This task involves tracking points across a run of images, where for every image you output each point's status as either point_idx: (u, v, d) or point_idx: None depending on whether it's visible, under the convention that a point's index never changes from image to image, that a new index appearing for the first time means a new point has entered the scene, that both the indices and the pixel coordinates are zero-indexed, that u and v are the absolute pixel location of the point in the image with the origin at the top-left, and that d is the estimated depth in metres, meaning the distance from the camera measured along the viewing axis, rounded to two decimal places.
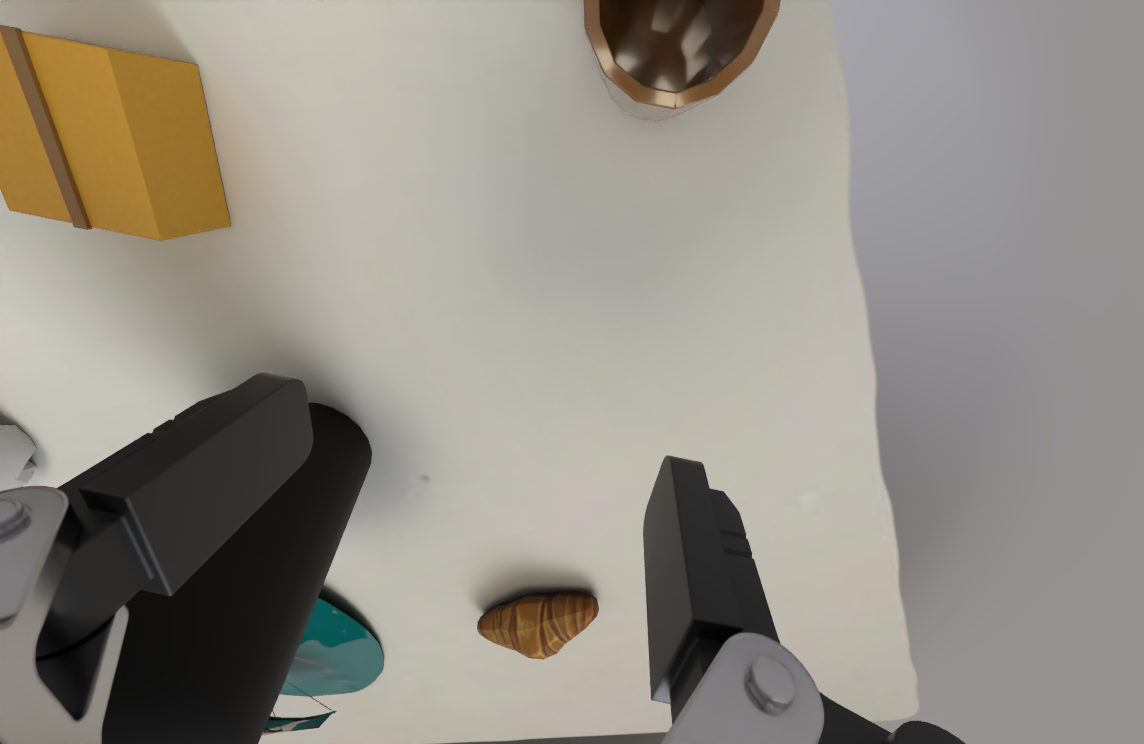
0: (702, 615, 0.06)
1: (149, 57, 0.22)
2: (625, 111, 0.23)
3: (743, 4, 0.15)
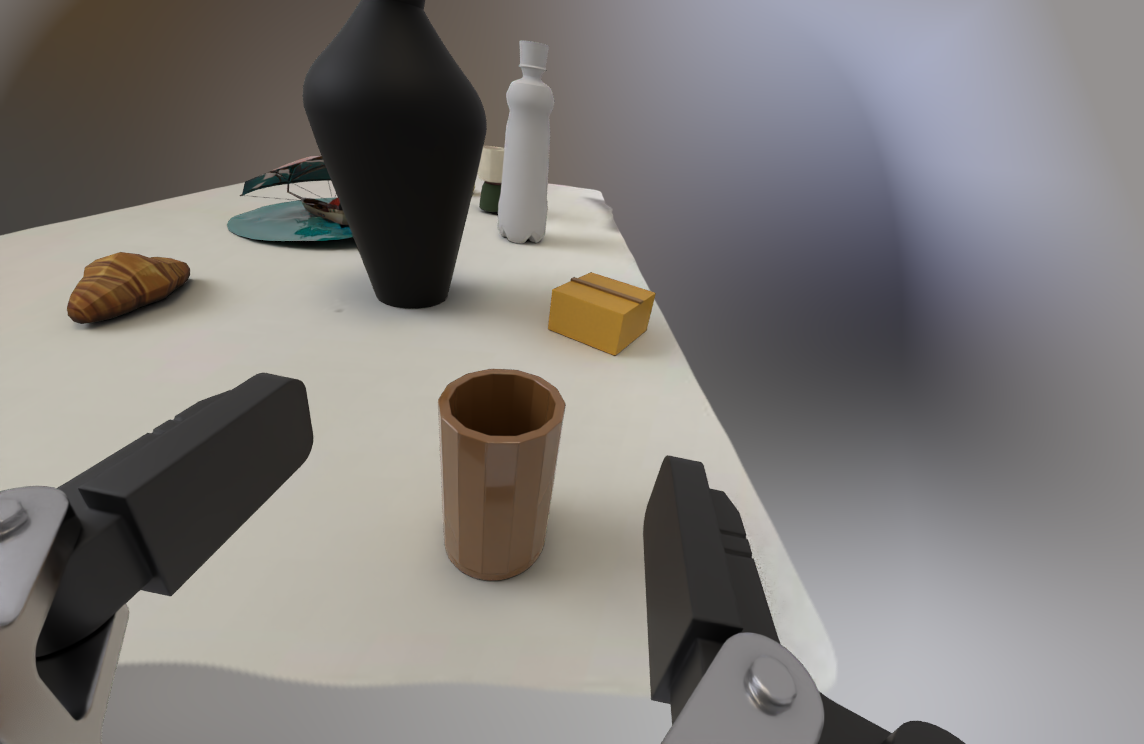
0: (702, 615, 0.06)
1: (619, 332, 0.46)
2: None
3: None
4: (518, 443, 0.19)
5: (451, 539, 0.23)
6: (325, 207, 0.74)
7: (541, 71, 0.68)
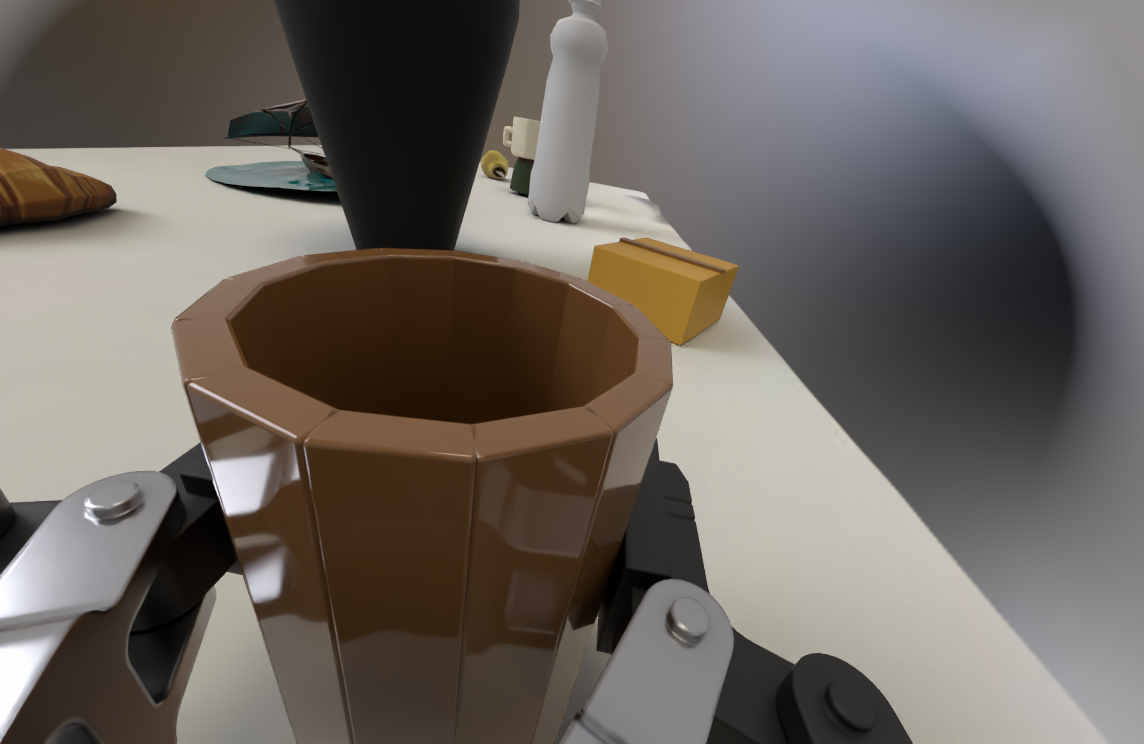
0: (635, 566, 0.06)
1: (691, 309, 0.31)
2: None
3: None
4: (476, 461, 0.04)
5: None
6: (327, 163, 0.62)
7: (595, 7, 0.55)
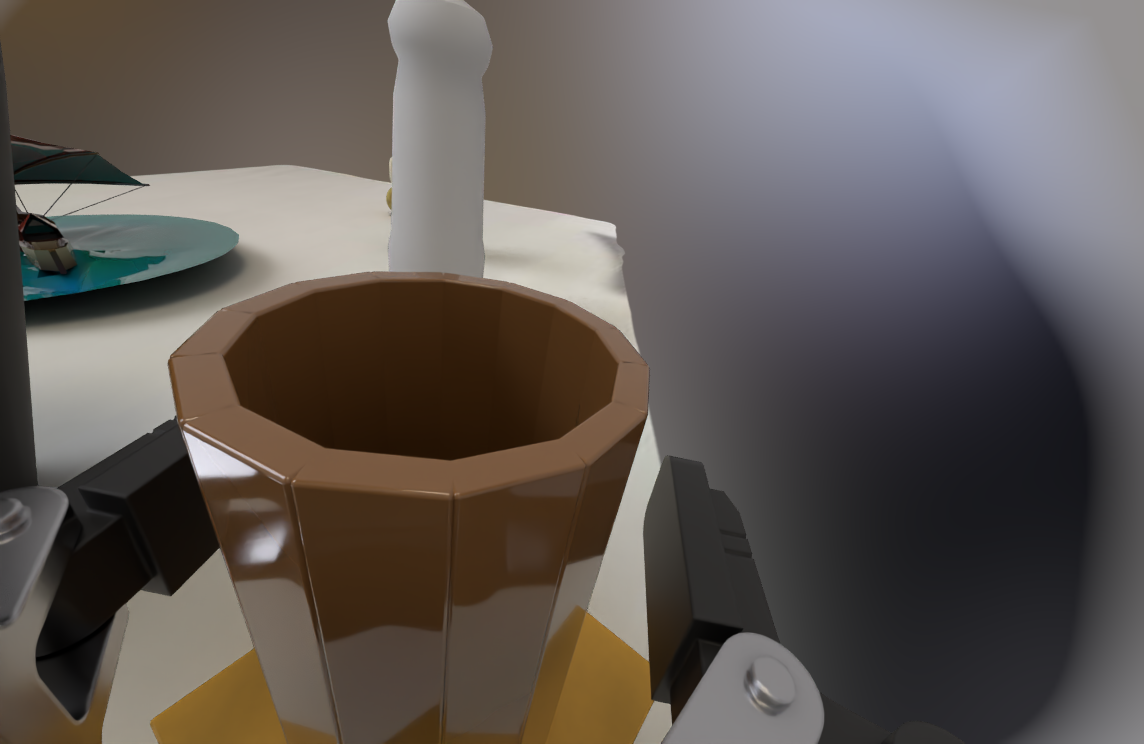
0: (702, 615, 0.06)
1: None
2: None
3: None
4: (453, 498, 0.04)
5: None
6: None
7: None
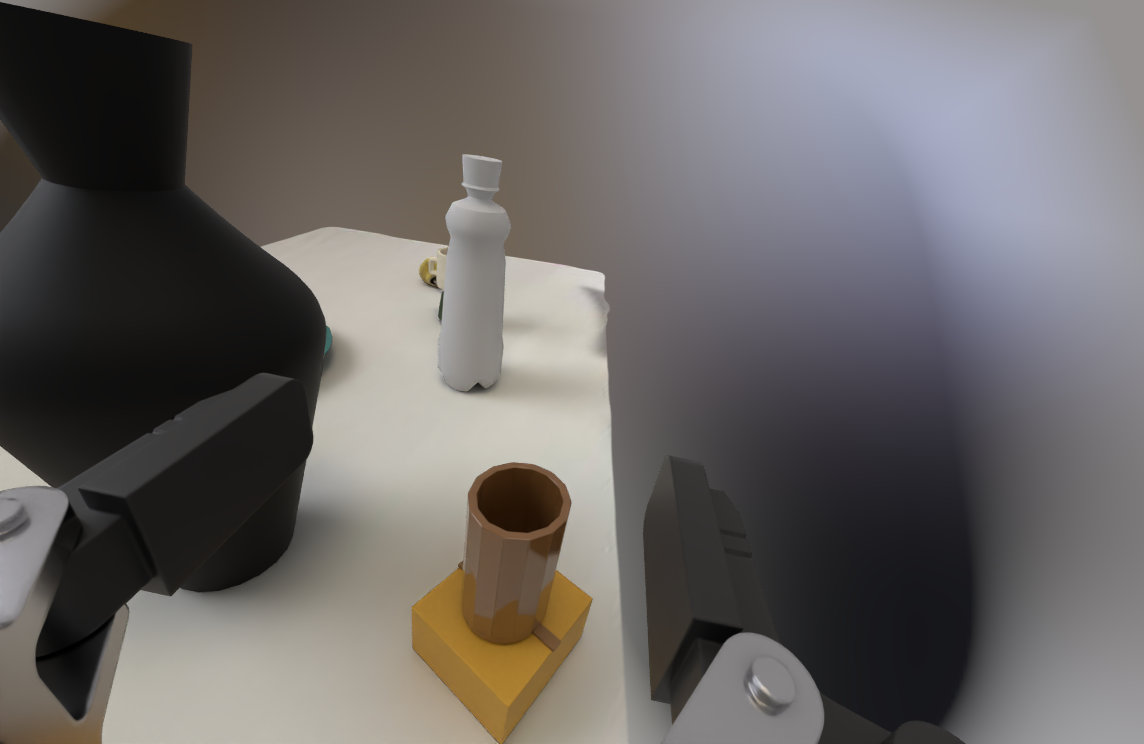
0: (702, 615, 0.06)
1: (504, 723, 0.26)
2: None
3: None
4: (529, 540, 0.23)
5: (468, 604, 0.27)
6: None
7: (490, 192, 0.51)
